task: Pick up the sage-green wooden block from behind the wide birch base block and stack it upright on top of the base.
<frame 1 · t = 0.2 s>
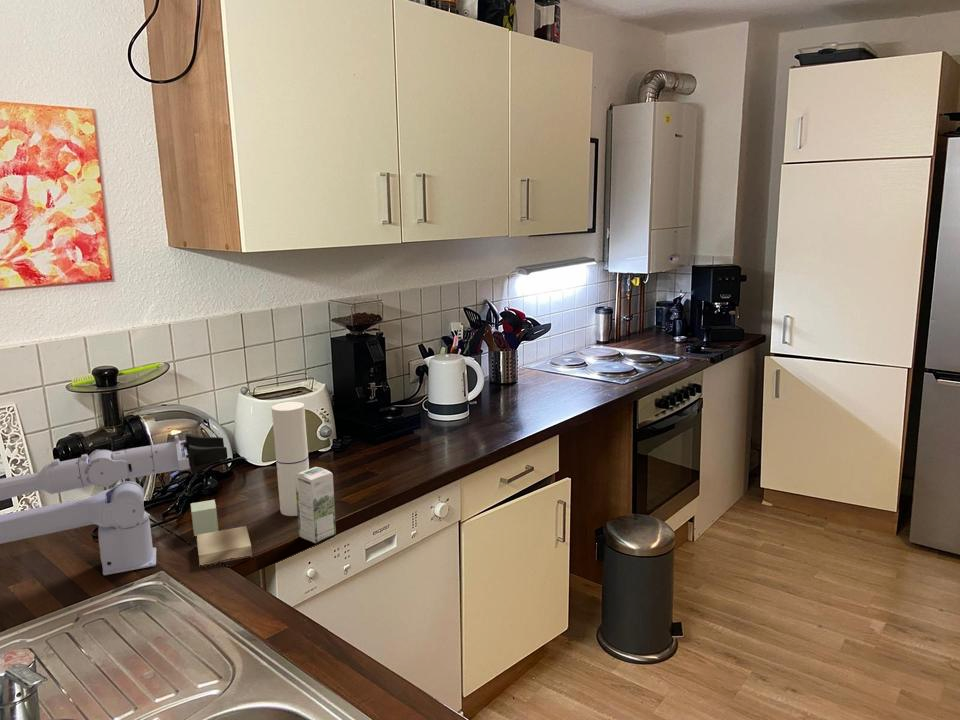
hand: (225, 447, 153), 21 cm above the worktop, tool horizontal, fingers open, 7 cm apart
cylindrical container: (296, 510, 174), on the worktop
syrup box: (318, 536, 160), on the worktop
sage block: (206, 531, 164), on the worktop
birch base: (224, 553, 154), on the worktop
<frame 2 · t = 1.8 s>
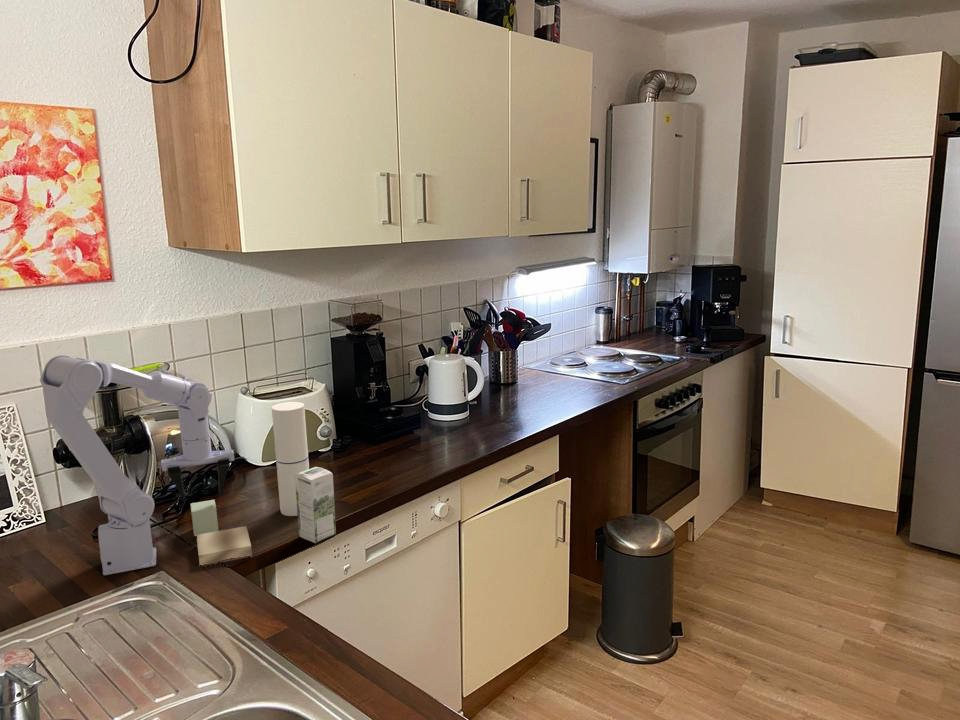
hand: (202, 496, 162), 8 cm above the worktop, tool pointing down, fingers open, 7 cm apart
nothing on the worktop moved.
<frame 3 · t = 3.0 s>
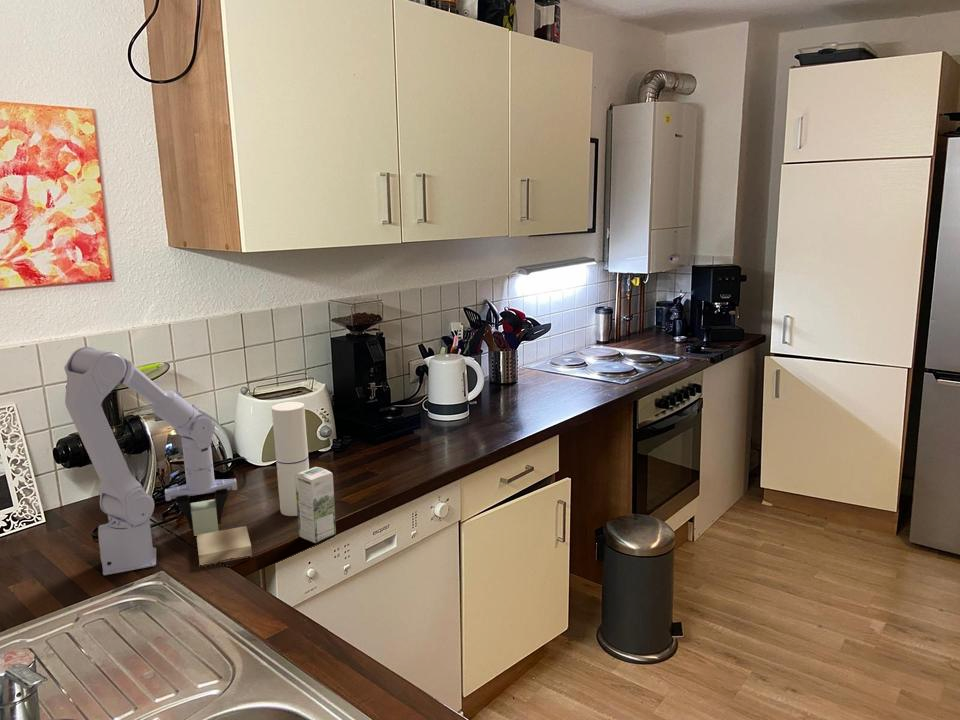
hand: (205, 524, 164), 1 cm above the worktop, tool pointing down, fingers closed on sage block, 5 cm apart
sage block: (206, 530, 164), on the worktop, touching gripper
everything else where it was.
when the fingers open (5 cm above the worktop, at t = 6.2 s): sage block drops 1 cm, resting on birch base.
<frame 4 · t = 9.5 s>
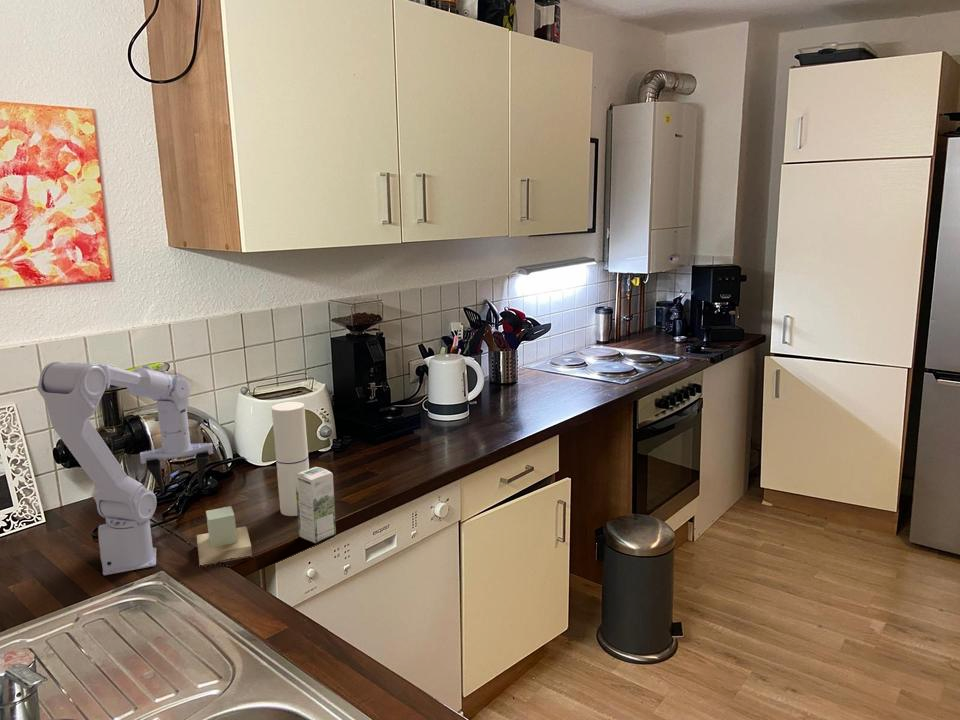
hand: (181, 488, 163), 9 cm above the worktop, tool pointing down, fingers open, 7 cm apart
sage block: (223, 540, 154), point 2 cm above the worktop, touching birch base
birch base: (224, 553, 154), on the worktop, touching sage block
everything else where it was.
at the end: sage block 0.2 cm off-centre on the birch base, point 3.0 cm above the birch base's base; sage block tilted 1°; the gripper is holding nothing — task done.
